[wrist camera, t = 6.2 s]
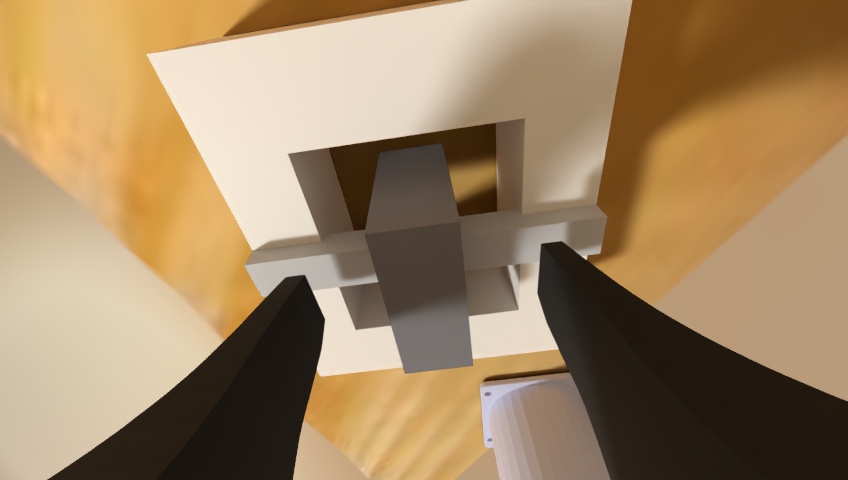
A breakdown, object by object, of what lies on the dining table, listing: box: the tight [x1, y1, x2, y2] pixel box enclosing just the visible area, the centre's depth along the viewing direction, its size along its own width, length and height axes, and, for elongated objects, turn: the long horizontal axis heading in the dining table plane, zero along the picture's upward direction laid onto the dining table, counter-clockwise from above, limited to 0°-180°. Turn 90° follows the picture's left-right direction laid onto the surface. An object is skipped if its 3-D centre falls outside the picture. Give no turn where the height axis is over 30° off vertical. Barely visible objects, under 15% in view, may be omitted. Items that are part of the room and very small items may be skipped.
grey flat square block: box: [364, 143, 473, 374], centre depth 13 cm, size 6×2×6 cm, turn 8°
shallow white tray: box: [147, 0, 632, 376], centre depth 14 cm, size 14×12×5 cm
